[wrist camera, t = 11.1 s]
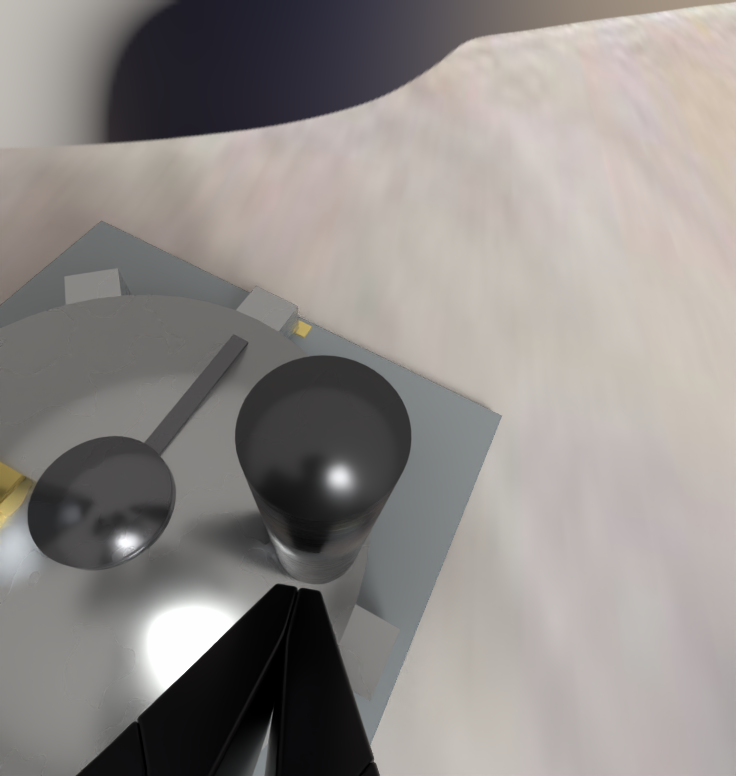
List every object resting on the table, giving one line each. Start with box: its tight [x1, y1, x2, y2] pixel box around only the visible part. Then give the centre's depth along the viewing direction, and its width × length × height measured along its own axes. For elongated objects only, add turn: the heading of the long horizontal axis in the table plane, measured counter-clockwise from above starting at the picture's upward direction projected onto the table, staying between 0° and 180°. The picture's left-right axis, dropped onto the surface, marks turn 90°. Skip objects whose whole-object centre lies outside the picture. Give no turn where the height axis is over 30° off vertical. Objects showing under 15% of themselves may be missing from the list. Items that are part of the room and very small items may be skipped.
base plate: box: [0, 221, 502, 776], centre depth 15 cm, size 19×19×1 cm
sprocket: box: [0, 268, 412, 776], centre depth 10 cm, size 18×18×10 cm
